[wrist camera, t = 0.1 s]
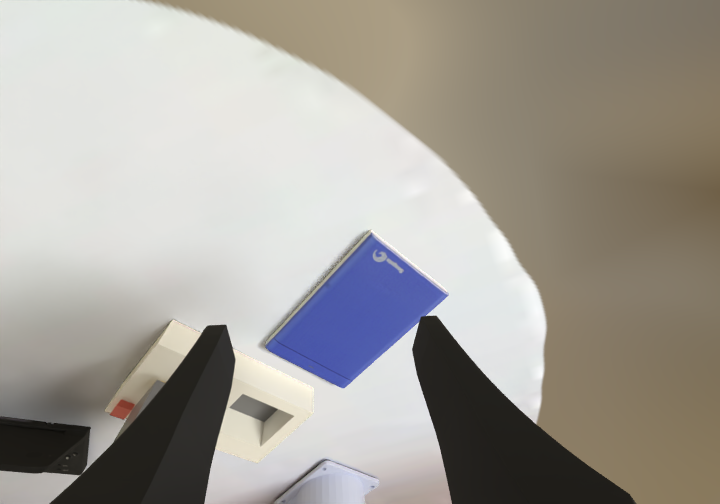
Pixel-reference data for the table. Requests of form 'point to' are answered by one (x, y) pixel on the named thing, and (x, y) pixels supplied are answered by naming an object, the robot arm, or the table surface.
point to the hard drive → (356, 312)
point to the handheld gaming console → (42, 447)
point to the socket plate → (246, 401)
